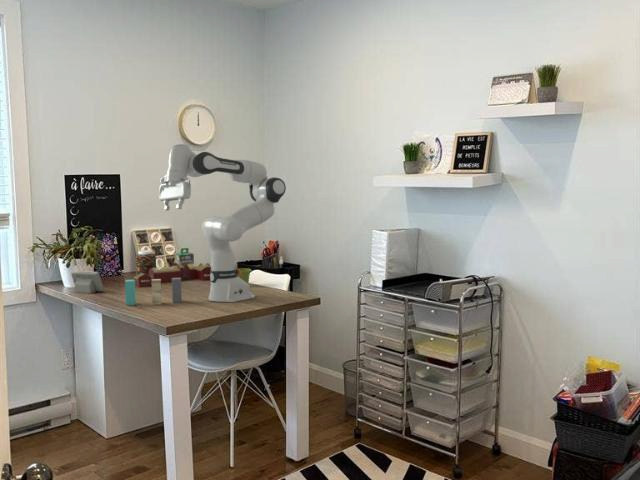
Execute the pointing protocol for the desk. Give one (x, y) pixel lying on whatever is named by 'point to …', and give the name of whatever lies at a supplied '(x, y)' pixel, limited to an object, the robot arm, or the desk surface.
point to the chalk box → (184, 257)
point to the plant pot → (244, 274)
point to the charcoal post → (176, 290)
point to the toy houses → (174, 273)
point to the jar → (145, 261)
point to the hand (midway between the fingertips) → (172, 209)
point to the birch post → (156, 291)
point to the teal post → (130, 292)
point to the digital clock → (87, 281)
